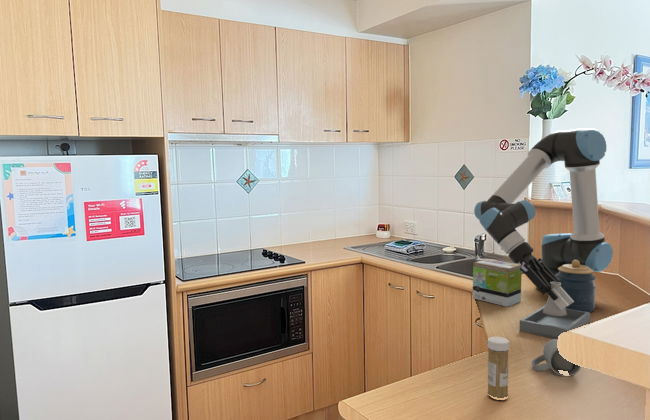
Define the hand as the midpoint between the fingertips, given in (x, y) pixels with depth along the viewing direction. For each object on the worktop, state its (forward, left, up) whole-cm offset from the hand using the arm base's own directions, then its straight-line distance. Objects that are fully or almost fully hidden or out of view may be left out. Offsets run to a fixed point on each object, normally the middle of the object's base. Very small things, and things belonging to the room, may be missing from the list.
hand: (567, 305), depth 153 cm
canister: (-25, -6, -8) cm, 27 cm away
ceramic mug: (+33, +8, -8) cm, 35 cm away
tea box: (-17, -31, -8) cm, 36 cm away
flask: (0, -4, -4) cm, 5 cm away
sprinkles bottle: (+57, +3, -8) cm, 57 cm away
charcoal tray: (0, -4, -8) cm, 9 cm away
